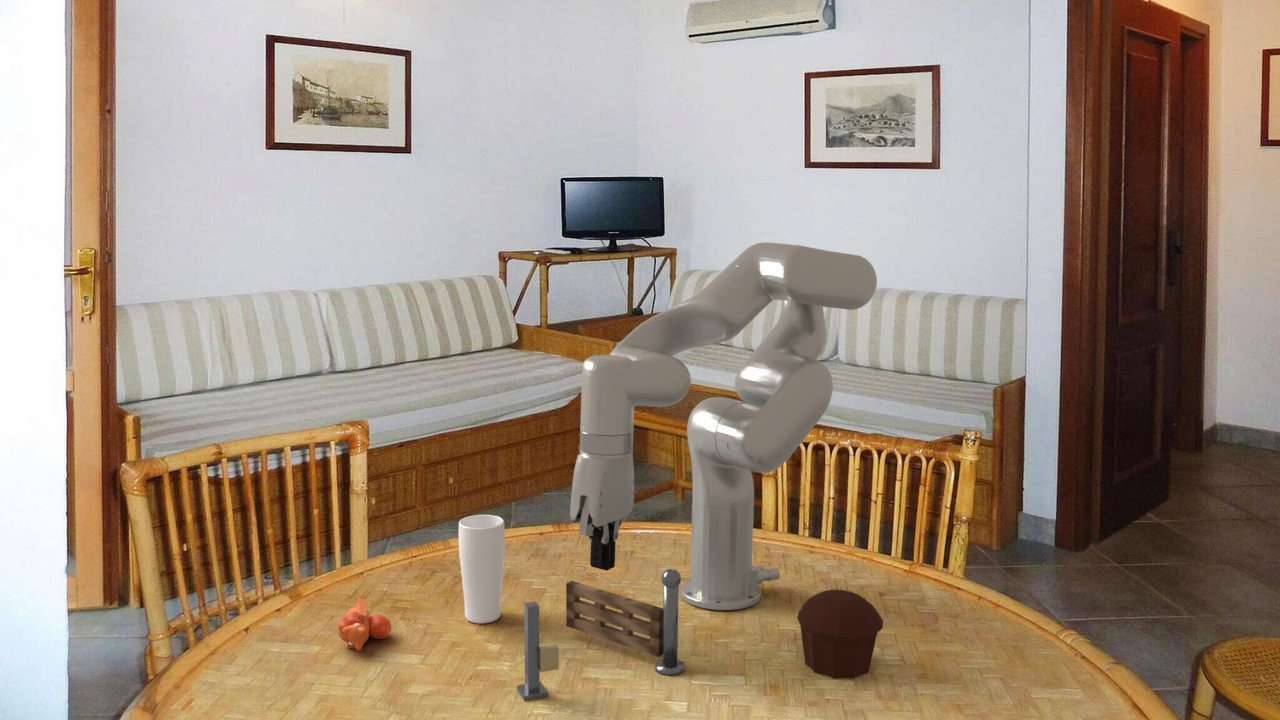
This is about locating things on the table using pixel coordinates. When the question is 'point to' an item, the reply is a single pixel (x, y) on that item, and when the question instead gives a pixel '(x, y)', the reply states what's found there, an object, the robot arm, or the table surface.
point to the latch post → (536, 656)
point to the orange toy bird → (362, 626)
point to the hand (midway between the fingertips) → (602, 566)
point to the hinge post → (670, 626)
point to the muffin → (839, 633)
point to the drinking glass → (482, 566)
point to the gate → (614, 618)
